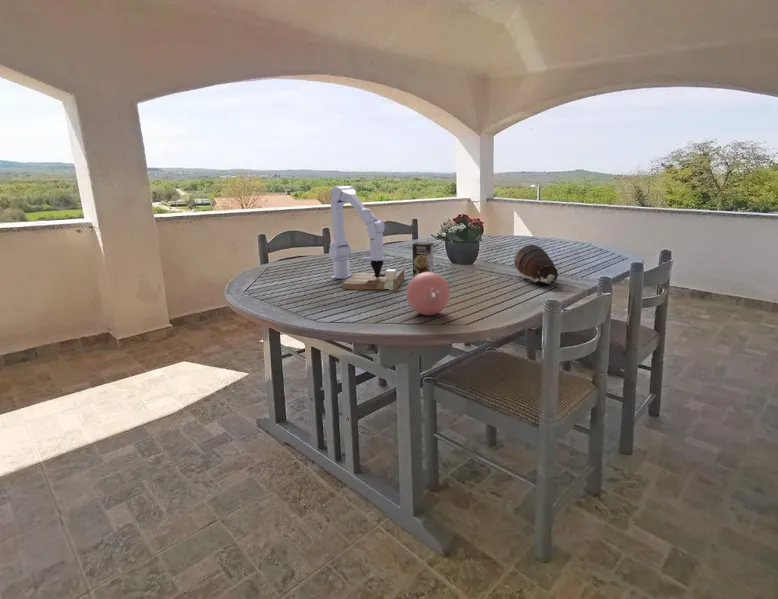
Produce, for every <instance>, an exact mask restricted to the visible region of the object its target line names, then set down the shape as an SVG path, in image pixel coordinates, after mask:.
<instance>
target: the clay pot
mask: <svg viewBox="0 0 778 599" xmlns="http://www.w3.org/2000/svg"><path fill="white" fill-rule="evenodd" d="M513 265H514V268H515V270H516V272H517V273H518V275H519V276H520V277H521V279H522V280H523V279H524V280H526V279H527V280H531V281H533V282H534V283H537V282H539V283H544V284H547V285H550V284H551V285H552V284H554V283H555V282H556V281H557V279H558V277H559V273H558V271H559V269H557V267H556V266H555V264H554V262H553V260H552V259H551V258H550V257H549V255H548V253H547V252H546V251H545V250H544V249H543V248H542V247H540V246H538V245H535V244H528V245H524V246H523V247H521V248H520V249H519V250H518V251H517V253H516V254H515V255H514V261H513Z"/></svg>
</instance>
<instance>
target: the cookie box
mask: <svg viewBox="0 0 778 599" xmlns="http://www.w3.org/2000/svg"><path fill="white" fill-rule="evenodd" d="M434 244H435V243H434V242H418V241H417V242H414V243H412V278H414V277H415V276H416V275H418V274H420V273H423V272H433V273H434Z"/></svg>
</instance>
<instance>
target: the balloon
mask: <svg viewBox="0 0 778 599" xmlns="http://www.w3.org/2000/svg"><path fill="white" fill-rule="evenodd" d="M405 292H406V299H407V303H408V305H409V306H410V308H412V310H414V311H415V312H416V313H417V314H420V315H422V316H434V315H437V314H439V313H441V312H442V311H443V310H444V309H445V308H446V307H447V306H448V303H449V302H450V298H451V288H450V285H449V284H448V282H447V280H446V279H445V278H444V277H443V276H441V275H440V274H438V273H436V272H434V271H433V272H423V273H420V274H418V275H416V276H415V277H412V278H411V279H410V281H409V283H408V285H407V287H406V291H405Z"/></svg>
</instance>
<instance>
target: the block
mask: <svg viewBox="0 0 778 599" xmlns="http://www.w3.org/2000/svg"><path fill="white" fill-rule="evenodd" d="M385 274H386V280H393V279H394V277H395V276H396V274H397V269H392V268H391V269H390V268H389V269H388V268H387V269H386V270H385Z"/></svg>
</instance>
